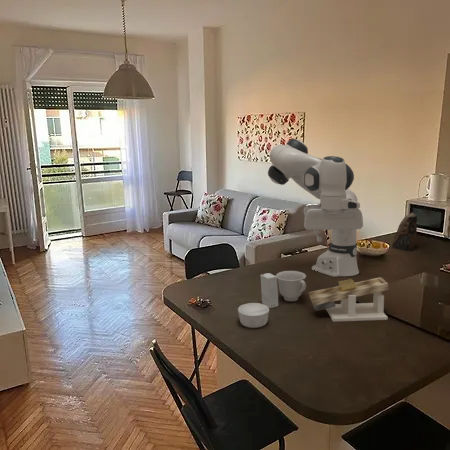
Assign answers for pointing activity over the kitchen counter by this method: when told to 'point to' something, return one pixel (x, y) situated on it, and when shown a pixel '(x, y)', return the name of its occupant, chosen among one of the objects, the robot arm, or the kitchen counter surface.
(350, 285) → the tan rectangular block
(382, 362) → the kitchen counter surface
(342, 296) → the beam
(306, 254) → the kitchen counter surface
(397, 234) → the owl
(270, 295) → the skincare box
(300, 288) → the teacup
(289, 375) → the kitchen counter surface
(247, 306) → the ramekin
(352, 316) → the pivot stand
